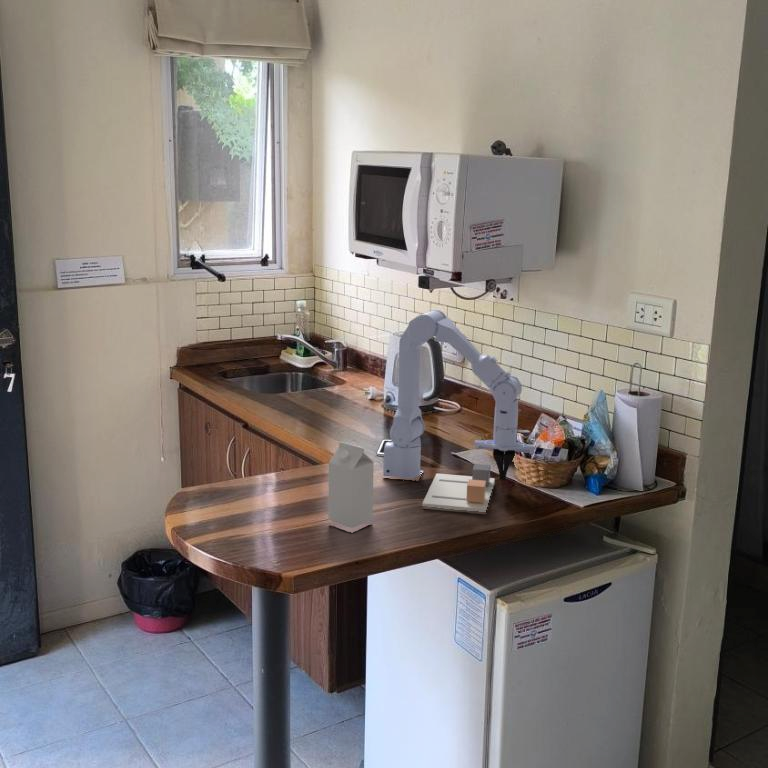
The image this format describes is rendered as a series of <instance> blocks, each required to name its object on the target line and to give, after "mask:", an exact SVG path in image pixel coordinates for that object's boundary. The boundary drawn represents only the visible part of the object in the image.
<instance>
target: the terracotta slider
mask: <svg viewBox="0 0 768 768" xmlns="http://www.w3.org/2000/svg"><path fill="white" fill-rule="evenodd" d="M485 490H486V481H483V480H472V479H469V481H468V484H467V499H466V501H468V502H479V503H483V502H484V499H485Z"/></svg>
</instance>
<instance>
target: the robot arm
mask: <svg viewBox="0 0 768 768" xmlns="http://www.w3.org/2000/svg"><path fill="white" fill-rule="evenodd" d="M433 337H435V338H434V340H433V341H434V342H437V343H438V342H440V343H447V344H448V345H449V346H451V348H453V349H454V350H456V352H457V353H459V354H460V355H461V356H462V357H463V358H464V359H466V361H468V362H469V363H470V365H471V371H472V373H473V374H474V375H475V376H476V377H477V378H478V379H479V380H480V381H481V382H482V383H483V384H484V386H486V387H487V388H488V389H489V390H490V391H491V394H492V397H493V399H494V401H495V407H494V421H493V435H492V437H493V439H483V440H482V439H475V441H474V450H477V451H479V450H489V451H492V456H493V459H494V461H495V465H496V466H497V470H498V476H499V480H500V481H505V480H507V479H506V478H507V473H508V471H509V467H510V465H511V463H513V462H512V460H513V458H514V456H515V452H523V453H529V455H535V454H534V453H535V444H531V443H530V444H526V443H521V442H516V441H517V430H518V422H519V396H520V395H521V394H522V391H523V388H522V383H521V381H520V380H519V378H518V377H516V376H514V375H511V373H510V372H509V371H508V372H507V371H505V369H503V368H502V367H501V366H500V365H499V364H498V363H497V361H498V359H497V358H496V357H495V356H492V357H491V355H489V354H482V353H481V352H479V350H478V349H477V348H476V347H475V346H474V344H472V342H471V341H470V340H469V339H468V338H467V337H466V336H465V335H464V334H463V333H462V332H461V330H460V329H459V328H458V327H457V325H456V324H455V323H454V322H453V320H452V319H451V318H449V317H447V315H446V314H445V313H444V312H443V311H441V310H439V309H432V310H430V311H428V312H426V313H423V314H419V315H418V316H417V315H416V317H414V318H412V319H411V320H410V321H409V322H408V325H407V327H406V329H405V331H404V332H403V333H402V335H401V336H400V338H399V347H398V351H399V352H398V388H397V389H398V390H397V395H398V397H397V409H396V411H395V414H394V416H393V418H392V419H393V420H392V421H393V422H392V426H391V427H390V430H389V437H390V438H389V439H391V440H392V441H393V442H386V444H385V447H384V456H383V463H382V464H383V467H382V469H383V471H382V477H383V476H395V477H400V478H405V479H413V478H415V477H418V476H419V475H420V474H422V473H423V474H424V470H422V469H421V454H422V453H421V452H422V451H421V449H422V442H421V436H422V435H423V434H424V432H425V423H424V420H423V417H422V414H423V413H422V409H421V408H420V407H419V405H420V404H419V400H420V399H419V398H420V397H419V396H420V395H419V394H420V365H421V363H420V362H421V360H420V359H421V346H423V345H424V344H425V343H427V342H428V341H429V340H430V339H432V338H433ZM504 451H505V454H504ZM503 460H504V462H503ZM420 472H422V473H420ZM423 474H422V475H423ZM420 476H421V475H420ZM421 477H422V476H421Z"/></svg>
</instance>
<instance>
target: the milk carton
mask: <svg viewBox="0 0 768 768" xmlns="http://www.w3.org/2000/svg"><path fill="white" fill-rule="evenodd" d="M364 451H365V448H364V447H361V446H357V445H353V444H351V443H346V442H343V441H338V447H337V449H336V451H334V454H333V455H332V456H331V458H330V460H329V461H328V513H327V514H328V515H327V516H328V518H327V519H328V520H331V521H333V522H336V523H339V524H342V525H345V526H347V527H351V528H353V527H356V526H358V525H360V524H362V523H365V522H367V521H369V520H372V519H374V518H373V517H374V516H373V514H374V513H373V511H374V509H373V508H374V507H373V506H374V503H373V502H374V461H373V459H371V458H370V457H369V456H368V455H367V454H365V452H364Z"/></svg>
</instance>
